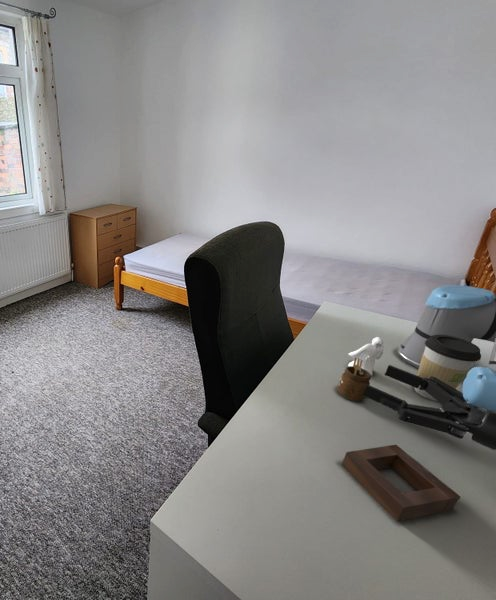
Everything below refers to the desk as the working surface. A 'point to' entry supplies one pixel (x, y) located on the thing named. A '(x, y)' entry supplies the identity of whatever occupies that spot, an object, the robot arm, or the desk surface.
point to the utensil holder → (354, 381)
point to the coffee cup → (447, 360)
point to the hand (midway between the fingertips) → (376, 379)
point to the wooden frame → (402, 505)
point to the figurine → (368, 354)
